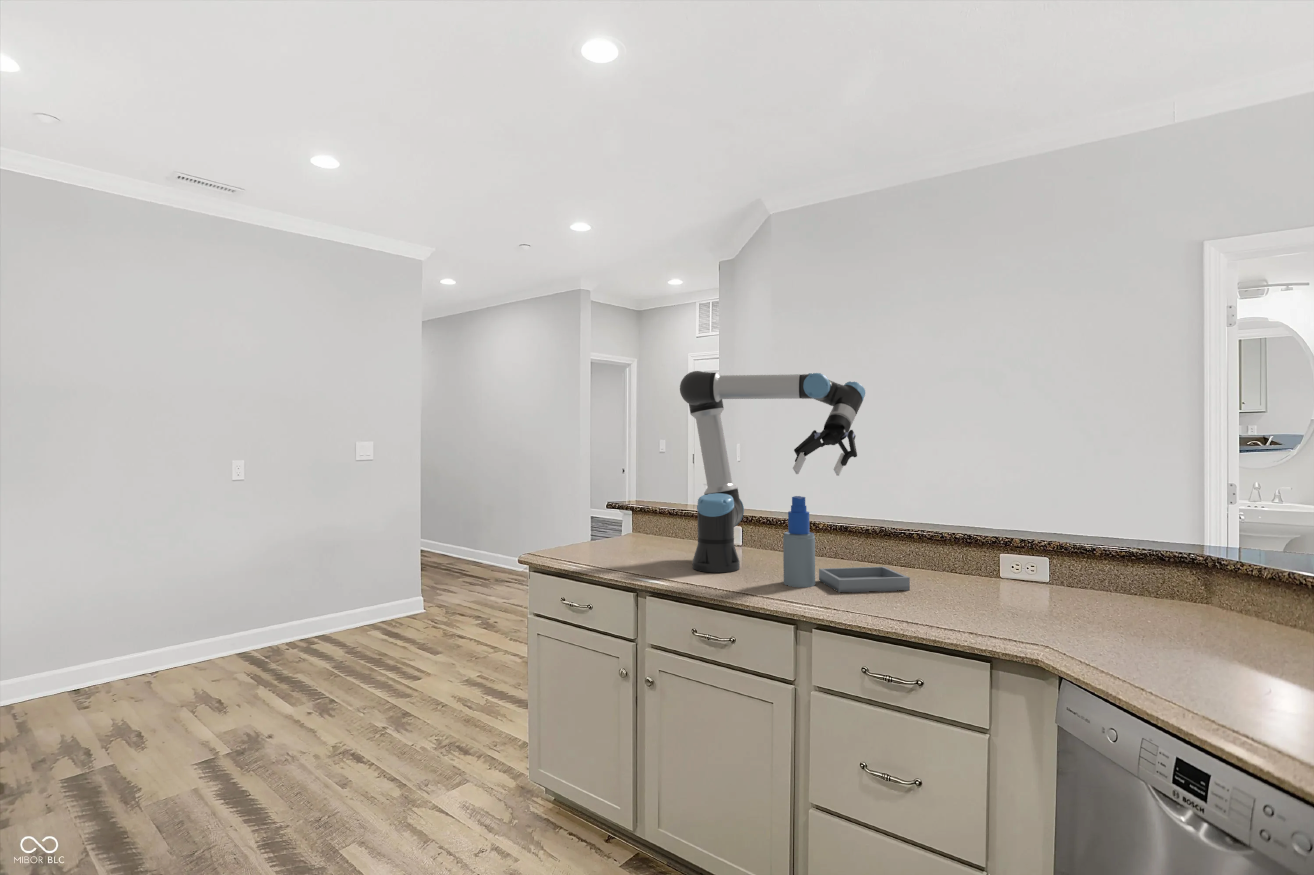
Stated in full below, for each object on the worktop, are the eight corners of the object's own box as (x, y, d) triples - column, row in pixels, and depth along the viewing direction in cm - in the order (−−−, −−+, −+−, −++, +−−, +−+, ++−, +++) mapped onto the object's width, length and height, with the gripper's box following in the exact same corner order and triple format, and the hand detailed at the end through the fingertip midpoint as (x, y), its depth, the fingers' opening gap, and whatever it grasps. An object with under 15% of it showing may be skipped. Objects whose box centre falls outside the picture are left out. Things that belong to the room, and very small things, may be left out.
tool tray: (819, 580, 189) (818, 568, 189) (883, 578, 192) (883, 566, 192) (839, 592, 174) (839, 579, 174) (909, 590, 177) (909, 577, 177)
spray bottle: (782, 580, 190) (781, 495, 190) (813, 580, 189) (812, 495, 189) (785, 587, 181) (784, 498, 181) (817, 587, 180) (816, 498, 180)
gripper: (881, 429, 196) (859, 482, 185) (808, 430, 213) (784, 478, 203) (873, 411, 192) (849, 464, 181) (800, 414, 209) (774, 462, 199)
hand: (815, 472), depth 192 cm, fingers open, 13 cm apart
